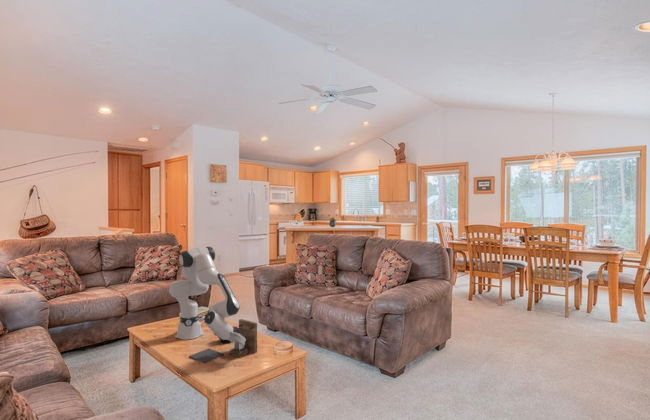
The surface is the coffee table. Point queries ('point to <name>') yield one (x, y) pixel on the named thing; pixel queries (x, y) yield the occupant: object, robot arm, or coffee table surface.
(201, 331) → the robot arm
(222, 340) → the dark porous rock
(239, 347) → the light gray square block
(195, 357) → the rubber mat
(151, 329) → the coffee table surface
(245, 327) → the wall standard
